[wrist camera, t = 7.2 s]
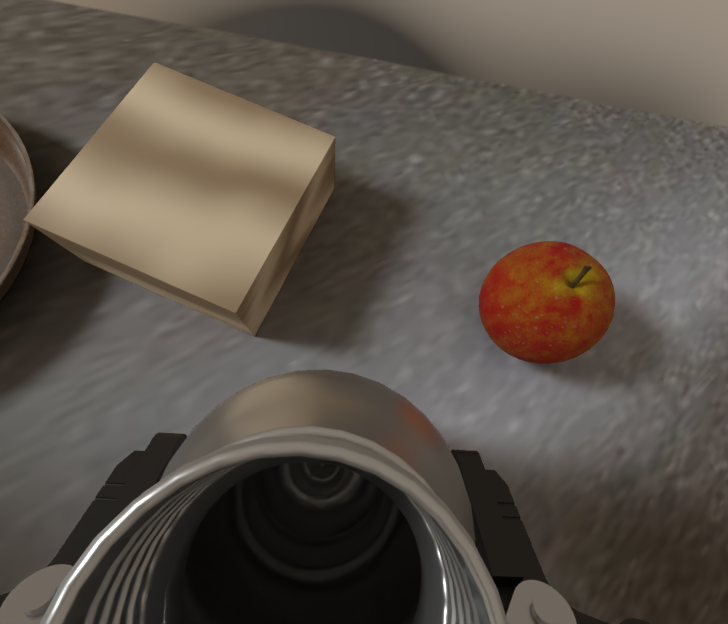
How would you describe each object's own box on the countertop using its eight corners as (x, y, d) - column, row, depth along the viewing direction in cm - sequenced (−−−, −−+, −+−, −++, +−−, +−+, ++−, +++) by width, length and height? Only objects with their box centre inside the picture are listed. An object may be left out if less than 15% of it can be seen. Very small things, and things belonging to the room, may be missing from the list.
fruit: (569, 375, 25) (676, 351, 17) (464, 367, 24) (525, 339, 17) (558, 276, 27) (649, 215, 19) (462, 267, 26) (515, 201, 19)
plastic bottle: (270, 402, 23) (-58, 255, 3) (383, 407, 23) (637, 304, 4) (256, 523, 21) (-638, 1673, 2) (380, 526, 21) (847, 1445, 2)
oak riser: (254, 336, 24) (235, 313, 19) (83, 261, 24) (23, 219, 19) (334, 188, 27) (335, 136, 22) (184, 125, 28) (154, 62, 23)
